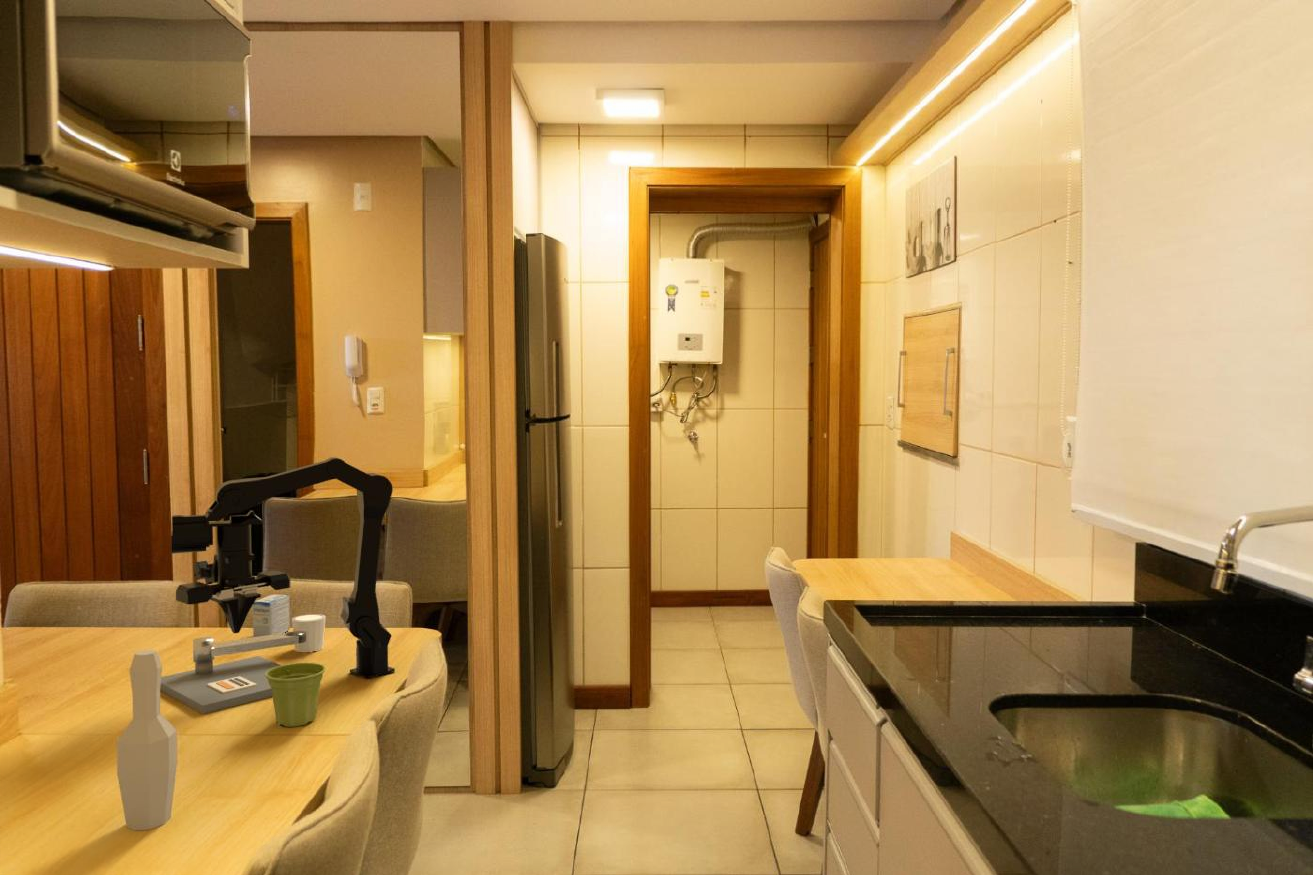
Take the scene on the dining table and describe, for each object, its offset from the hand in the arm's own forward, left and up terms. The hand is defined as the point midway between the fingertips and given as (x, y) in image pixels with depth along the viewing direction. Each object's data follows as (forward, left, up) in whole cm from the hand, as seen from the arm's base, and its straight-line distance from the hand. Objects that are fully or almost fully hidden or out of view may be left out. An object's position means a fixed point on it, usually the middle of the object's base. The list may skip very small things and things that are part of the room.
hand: (235, 632), depth 163 cm
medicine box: (+33, -23, -11) cm, 42 cm away
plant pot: (-23, 0, -11) cm, 25 cm away
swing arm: (+10, -7, -7) cm, 14 cm away
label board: (+3, -1, -11) cm, 12 cm away
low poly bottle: (-43, +30, -11) cm, 53 cm away
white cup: (+16, -23, -11) cm, 30 cm away
